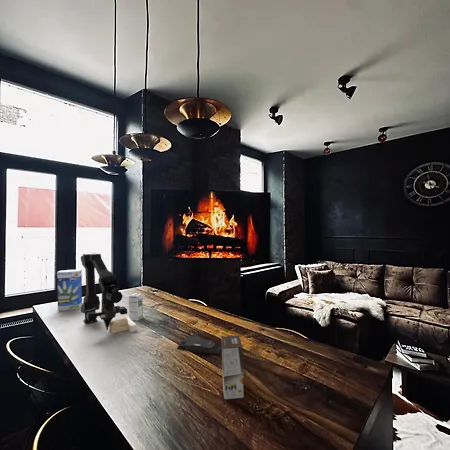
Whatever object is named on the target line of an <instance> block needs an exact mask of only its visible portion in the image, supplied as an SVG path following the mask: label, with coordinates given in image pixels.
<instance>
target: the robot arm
mask: <svg viewBox="0 0 450 450" xmlns="http://www.w3.org/2000/svg"><path fill="white" fill-rule="evenodd" d="M80 262H81V265H82V266H83V268H84V269H85V290H86V291H85V295H84V297H83V298H82V306H81V308H80V312H81V313H83V314H84V319H83V322H84V324H85V325H86V324H91V323H95V322H98V321H99V320H98V319H97V318H100V320H101V321H102V320H103V323H104V326H105V329H106V331H109V328H110V327H109V324H110V322H111V320H114V319H115V318H116V315H117V314H120V315H128V308H127V307H126V306H123V305H122V306H120V305H115V304H118V303H120V302H121V301H122V300H123V293H122V292H121V291H119V287H120V286H119V282H118V279H117V278H116V276H115V274H114V273H113V272H112V271H111V270H109V269H108V268H107V266H106V264H105V263H104V261H103V258H102V255H101V253H96V252H91V253H90V252H89V253H88V252H87V253H83V254H82V255H81V256H80ZM95 271H96V272H97V275H98V280H97V281H98V285H99V287H100V290H101V301H100V296H99V295H97V293H96V274H95V273H96V272H95ZM100 306H101V309H100ZM97 310H98V311H99V310H101V311H99V312H96V311H97Z"/></svg>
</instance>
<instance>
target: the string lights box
mask: <svg viewBox="0 0 450 450" xmlns="http://www.w3.org/2000/svg"><path fill="white" fill-rule="evenodd" d="M82 271H83V270H82V269H67V270H66V269H65V270H63V269H62V270H59V271H57V272H56V276H57V277H56V279H57V280H56V281H57V287H56V288H57V292H56V293H57V311H72V310H73V311H74V310H81V306H82V304H83V287H82V286H83V283H82V282H83V281H82V280H83V277H82V276H83V274H82V273H83V272H82Z"/></svg>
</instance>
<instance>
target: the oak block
mask: <svg viewBox="0 0 450 450" xmlns="http://www.w3.org/2000/svg"><path fill="white" fill-rule="evenodd" d="M126 318H127V317H126V316H123V317H119V318H113V319H112V320H111V322H110V324H109V327H108V328H109V331H110V333H111V334H117V333H120V332H124V331H129V330H128V320H127V319H126Z"/></svg>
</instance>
